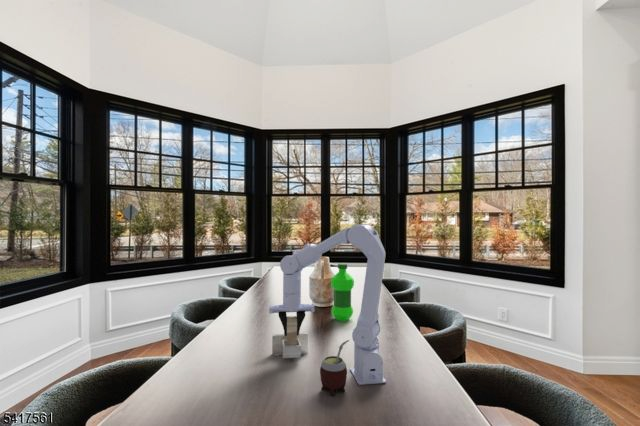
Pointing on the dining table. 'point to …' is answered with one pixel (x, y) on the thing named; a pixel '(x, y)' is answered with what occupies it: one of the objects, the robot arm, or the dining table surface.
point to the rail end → (291, 330)
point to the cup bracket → (289, 350)
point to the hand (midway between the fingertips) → (291, 334)
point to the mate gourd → (334, 373)
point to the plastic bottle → (342, 294)
